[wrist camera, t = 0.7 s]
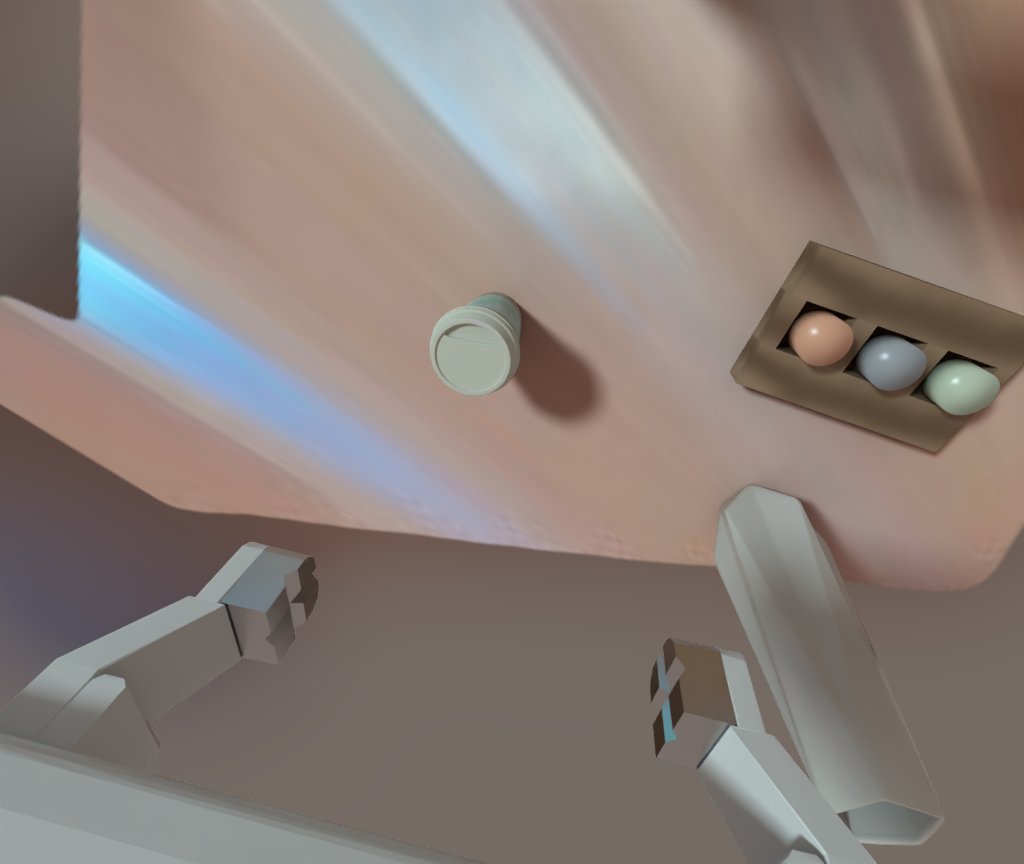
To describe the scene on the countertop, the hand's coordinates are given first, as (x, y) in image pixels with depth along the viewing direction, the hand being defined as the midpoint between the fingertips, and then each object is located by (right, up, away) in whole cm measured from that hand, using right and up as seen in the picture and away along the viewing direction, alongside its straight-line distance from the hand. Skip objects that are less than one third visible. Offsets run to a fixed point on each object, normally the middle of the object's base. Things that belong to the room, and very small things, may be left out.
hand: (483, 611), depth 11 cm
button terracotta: (+30, +14, +35) cm, 48 cm away
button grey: (+36, +11, +35) cm, 51 cm away
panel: (+37, +13, +37) cm, 53 cm away
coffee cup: (-1, +17, +42) cm, 45 cm away
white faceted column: (+31, -5, +49) cm, 58 cm away
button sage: (+43, +9, +35) cm, 56 cm away
